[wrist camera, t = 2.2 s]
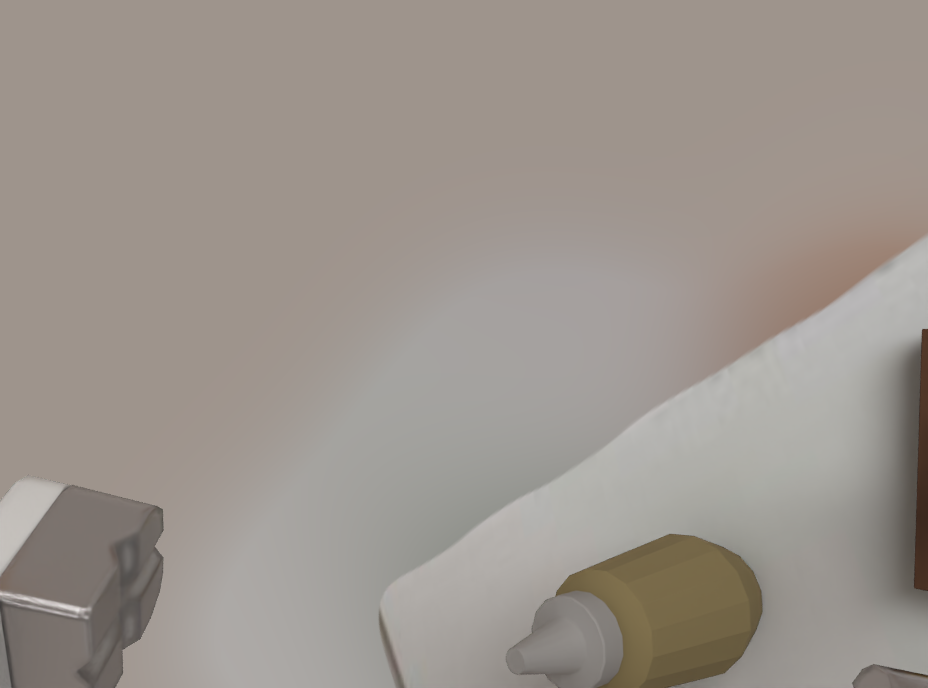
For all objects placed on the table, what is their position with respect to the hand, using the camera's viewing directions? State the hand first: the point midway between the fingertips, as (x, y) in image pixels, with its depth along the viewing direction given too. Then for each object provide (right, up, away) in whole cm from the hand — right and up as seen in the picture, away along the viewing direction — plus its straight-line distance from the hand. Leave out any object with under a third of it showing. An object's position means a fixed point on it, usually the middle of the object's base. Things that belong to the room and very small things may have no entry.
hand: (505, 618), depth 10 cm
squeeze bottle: (+15, -12, +43) cm, 47 cm away
